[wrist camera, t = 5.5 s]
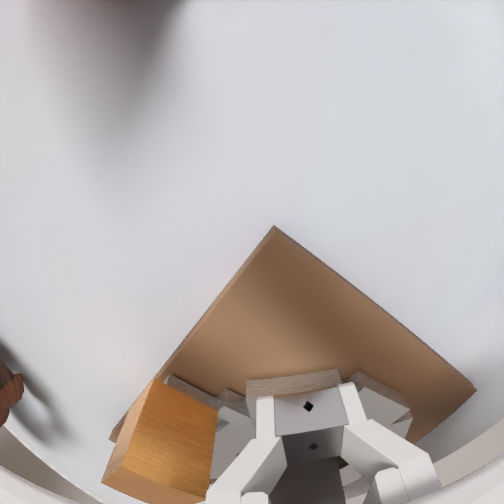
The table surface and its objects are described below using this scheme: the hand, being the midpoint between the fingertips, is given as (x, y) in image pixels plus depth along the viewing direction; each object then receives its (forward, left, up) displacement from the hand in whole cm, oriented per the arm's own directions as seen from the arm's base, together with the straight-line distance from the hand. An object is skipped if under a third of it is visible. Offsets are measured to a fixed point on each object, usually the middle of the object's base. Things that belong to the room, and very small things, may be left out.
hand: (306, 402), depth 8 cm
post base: (+5, +4, -3) cm, 7 cm away
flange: (+5, +3, -2) cm, 6 cm away
